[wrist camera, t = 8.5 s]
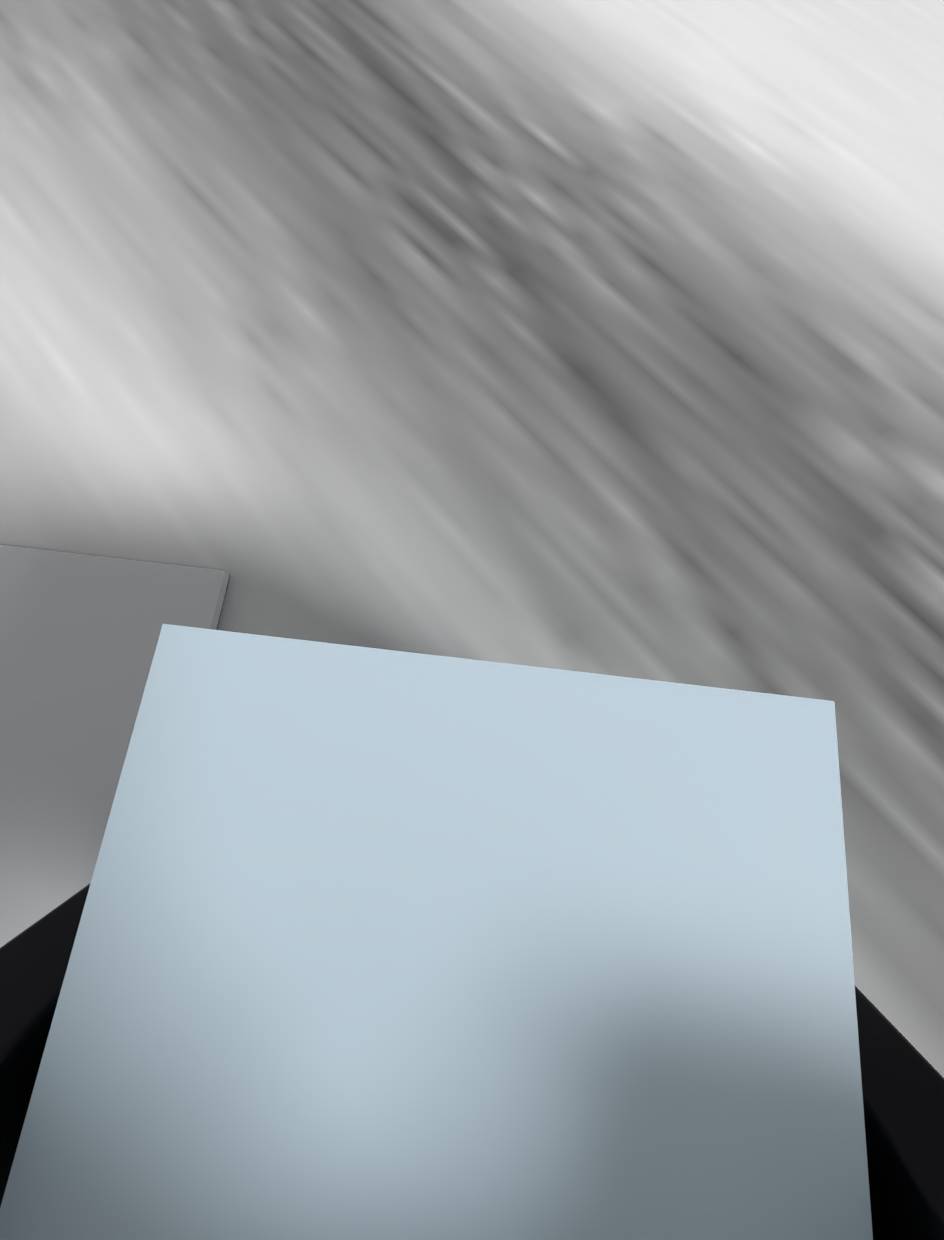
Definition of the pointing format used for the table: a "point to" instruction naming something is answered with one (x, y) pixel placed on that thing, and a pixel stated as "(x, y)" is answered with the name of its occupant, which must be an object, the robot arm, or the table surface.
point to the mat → (75, 705)
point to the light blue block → (454, 963)
